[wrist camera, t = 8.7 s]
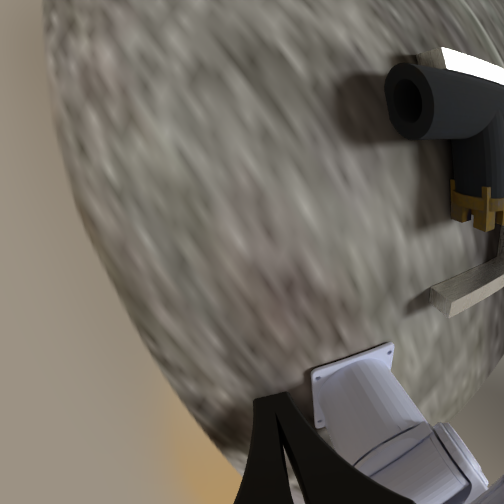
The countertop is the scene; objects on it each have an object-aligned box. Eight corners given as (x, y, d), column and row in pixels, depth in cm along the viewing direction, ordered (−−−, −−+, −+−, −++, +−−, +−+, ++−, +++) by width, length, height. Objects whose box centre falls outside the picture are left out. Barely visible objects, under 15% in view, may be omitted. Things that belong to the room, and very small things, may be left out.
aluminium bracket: (501, 266, 23) (519, 276, 20) (428, 301, 22) (448, 318, 19) (498, 77, 15) (519, 76, 12) (415, 54, 14) (441, 47, 11)
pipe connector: (537, 215, 15) (444, 252, 14) (500, 202, 20) (397, 228, 19) (530, 89, 11) (425, 54, 10) (490, 90, 16) (376, 72, 15)
